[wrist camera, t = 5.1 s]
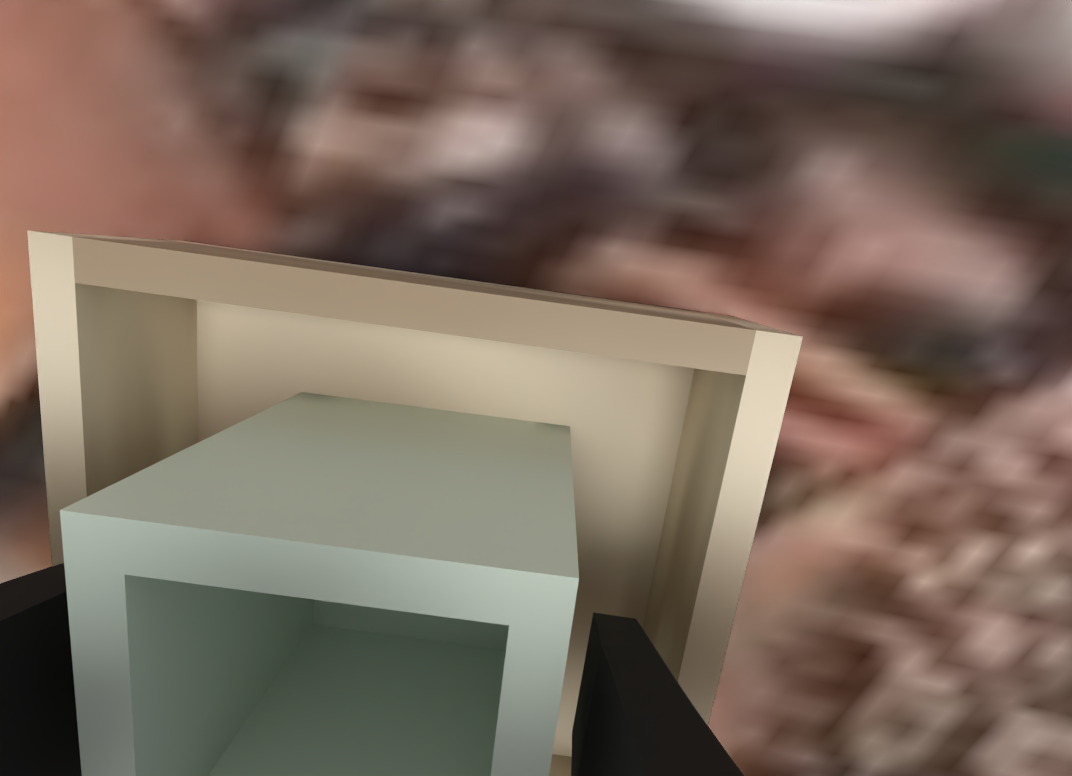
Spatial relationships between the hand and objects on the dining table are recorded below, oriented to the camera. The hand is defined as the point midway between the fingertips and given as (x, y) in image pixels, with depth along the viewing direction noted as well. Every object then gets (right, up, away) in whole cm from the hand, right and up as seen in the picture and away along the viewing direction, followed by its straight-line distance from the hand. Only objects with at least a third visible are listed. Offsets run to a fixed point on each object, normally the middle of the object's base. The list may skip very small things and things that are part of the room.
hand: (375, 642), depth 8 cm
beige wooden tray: (0, +1, +3) cm, 3 cm away
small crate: (0, +1, +3) cm, 3 cm away
